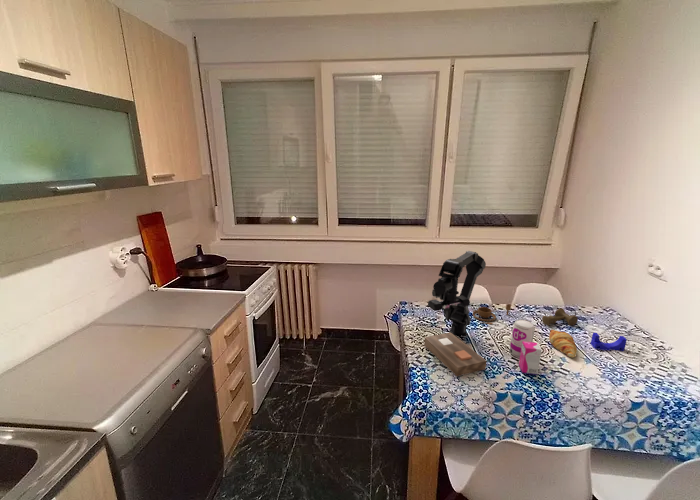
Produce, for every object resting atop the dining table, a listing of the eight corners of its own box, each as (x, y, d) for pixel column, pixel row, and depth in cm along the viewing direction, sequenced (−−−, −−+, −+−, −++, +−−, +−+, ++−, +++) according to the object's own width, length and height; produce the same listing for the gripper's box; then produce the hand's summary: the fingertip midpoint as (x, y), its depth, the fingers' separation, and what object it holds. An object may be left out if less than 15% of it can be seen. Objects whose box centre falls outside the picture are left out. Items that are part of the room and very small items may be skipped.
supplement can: (521, 361, 140) (527, 329, 136) (505, 351, 148) (509, 321, 143) (534, 356, 144) (539, 325, 140) (517, 347, 151) (522, 317, 147)
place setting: (471, 309, 190) (472, 299, 189) (509, 314, 185) (510, 304, 183) (473, 323, 174) (474, 313, 172) (514, 329, 169) (516, 318, 167)
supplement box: (533, 366, 137) (537, 342, 134) (537, 375, 131) (542, 350, 128) (518, 364, 138) (522, 340, 135) (521, 373, 133) (526, 348, 130)
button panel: (449, 339, 157) (450, 332, 156) (485, 369, 135) (486, 360, 134) (424, 345, 152) (424, 337, 151) (456, 376, 130) (457, 367, 129)
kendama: (536, 321, 177) (566, 316, 182) (551, 330, 168) (582, 324, 173) (538, 311, 175) (568, 306, 180) (553, 320, 166) (585, 314, 171)
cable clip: (594, 349, 151) (597, 337, 149) (590, 343, 155) (593, 332, 153) (625, 353, 148) (628, 341, 146) (620, 348, 152) (623, 336, 150)
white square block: (446, 344, 152) (446, 337, 151) (452, 350, 148) (453, 343, 147) (437, 346, 150) (437, 339, 149) (443, 352, 146) (444, 345, 145)
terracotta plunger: (463, 357, 141) (464, 350, 140) (470, 363, 136) (471, 356, 135) (453, 359, 139) (454, 352, 138) (461, 365, 135) (461, 358, 134)
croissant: (578, 367, 143) (591, 353, 140) (558, 356, 142) (571, 342, 140) (555, 340, 163) (566, 328, 160) (538, 330, 163) (548, 318, 160)
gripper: (456, 279, 157) (453, 309, 161) (422, 284, 151) (420, 315, 155) (472, 288, 147) (468, 320, 151) (436, 293, 140) (433, 326, 145)
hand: (447, 320), depth 150 cm, fingers closed
